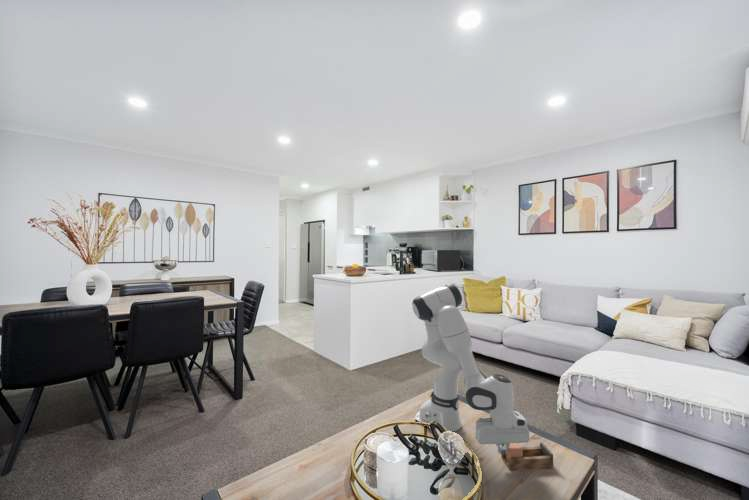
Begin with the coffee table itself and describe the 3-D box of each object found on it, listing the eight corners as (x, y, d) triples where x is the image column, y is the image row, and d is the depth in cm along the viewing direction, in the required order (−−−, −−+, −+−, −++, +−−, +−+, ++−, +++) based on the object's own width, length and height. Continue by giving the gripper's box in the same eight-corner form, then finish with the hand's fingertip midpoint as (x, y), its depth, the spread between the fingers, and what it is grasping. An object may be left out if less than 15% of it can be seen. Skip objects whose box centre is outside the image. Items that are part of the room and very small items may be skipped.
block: (510, 464, 119) (510, 449, 119) (506, 458, 122) (505, 443, 122) (522, 464, 119) (522, 448, 119) (518, 458, 122) (518, 443, 122)
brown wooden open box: (510, 470, 117) (509, 456, 117) (501, 458, 124) (501, 445, 124) (553, 468, 118) (553, 454, 118) (542, 456, 125) (542, 442, 125)
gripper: (478, 423, 116) (479, 459, 116) (531, 421, 117) (532, 457, 117) (472, 414, 123) (473, 448, 123) (522, 412, 123) (523, 446, 124)
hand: (502, 452), depth 120 cm, fingers closed
